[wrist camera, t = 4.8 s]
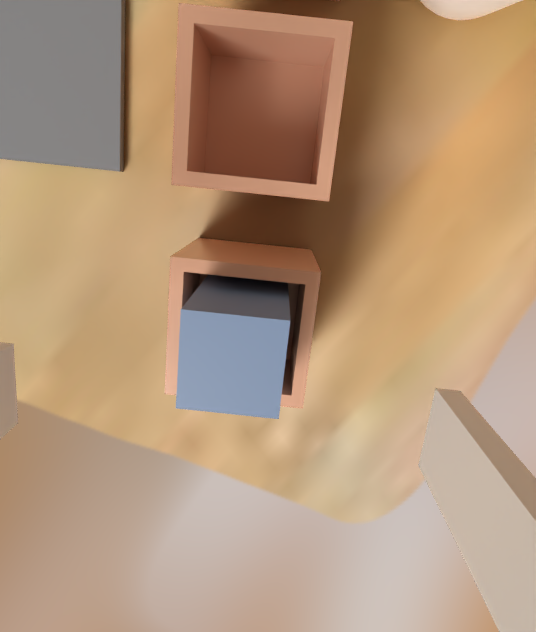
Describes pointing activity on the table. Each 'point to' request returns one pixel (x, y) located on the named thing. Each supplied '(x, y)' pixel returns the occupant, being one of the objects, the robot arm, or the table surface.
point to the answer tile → (63, 82)
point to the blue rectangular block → (234, 347)
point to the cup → (466, 7)
